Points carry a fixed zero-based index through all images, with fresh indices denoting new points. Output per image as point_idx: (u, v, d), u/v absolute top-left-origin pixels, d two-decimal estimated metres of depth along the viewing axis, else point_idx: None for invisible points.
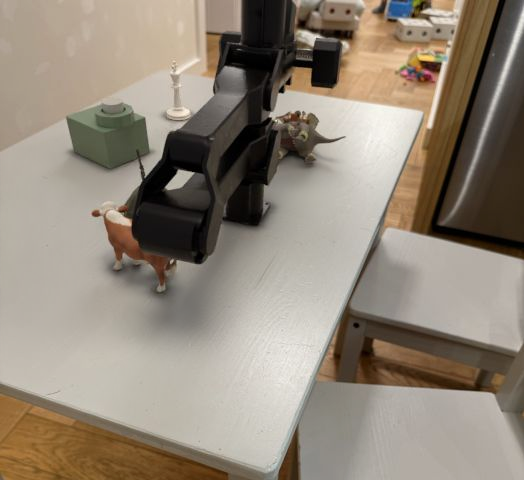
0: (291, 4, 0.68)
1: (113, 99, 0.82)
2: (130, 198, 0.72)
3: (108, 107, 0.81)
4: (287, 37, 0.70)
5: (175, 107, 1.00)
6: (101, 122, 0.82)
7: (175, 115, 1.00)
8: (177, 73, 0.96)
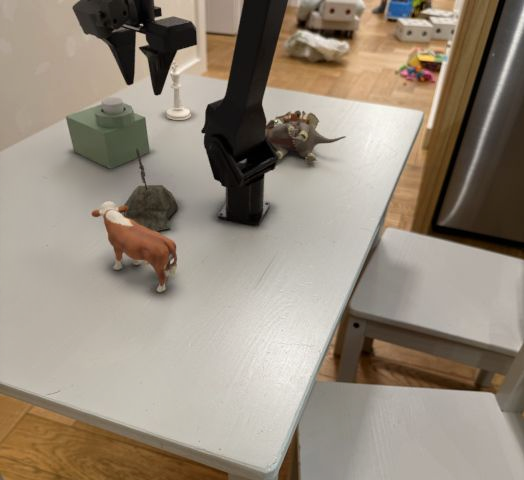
0: (75, 4, 0.64)
1: (113, 99, 0.82)
2: (130, 198, 0.72)
3: (108, 107, 0.81)
4: None
5: (175, 107, 1.00)
6: (101, 122, 0.82)
7: (175, 115, 1.00)
8: (177, 73, 0.96)
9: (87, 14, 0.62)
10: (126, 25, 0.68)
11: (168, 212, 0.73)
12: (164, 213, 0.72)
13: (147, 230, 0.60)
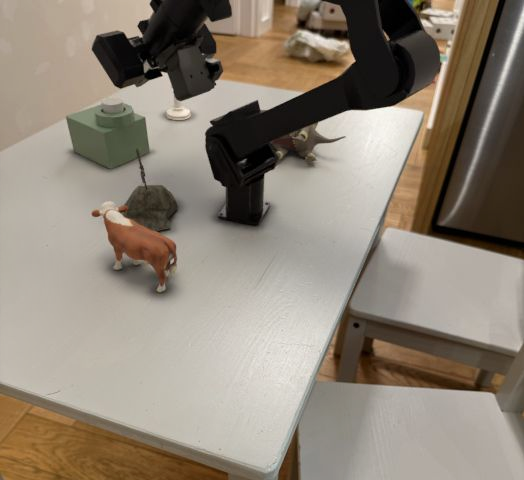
0: (188, 90, 0.67)
1: (113, 99, 0.82)
2: (130, 198, 0.72)
3: (108, 107, 0.81)
4: (177, 59, 0.65)
5: (175, 107, 1.00)
6: (101, 122, 0.82)
7: (175, 115, 1.00)
8: None
9: (208, 91, 0.69)
10: None
11: (168, 212, 0.73)
12: (164, 213, 0.72)
13: (147, 230, 0.60)
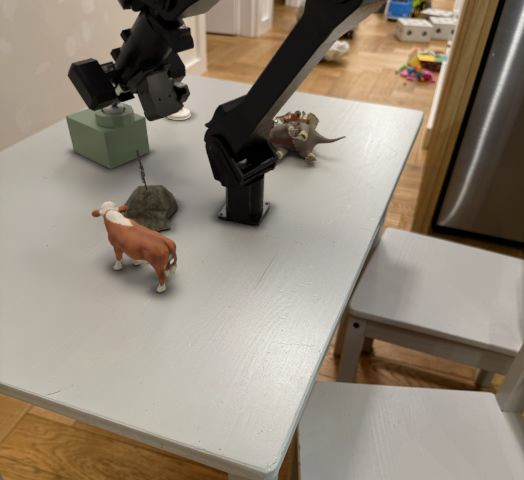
0: (157, 112, 0.73)
1: None
2: (130, 198, 0.72)
3: (109, 112, 0.81)
4: (146, 84, 0.72)
5: None
6: (101, 122, 0.82)
7: (175, 115, 1.00)
8: None
9: (176, 112, 0.76)
10: None
11: (168, 212, 0.73)
12: (164, 213, 0.72)
13: (147, 230, 0.60)
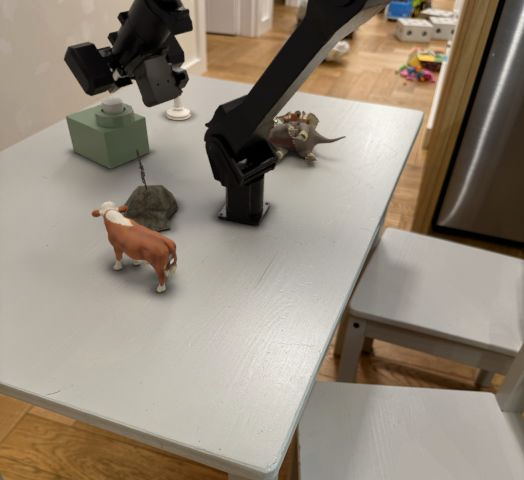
0: (155, 97, 0.72)
1: (113, 99, 0.82)
2: (130, 198, 0.72)
3: (108, 107, 0.81)
4: (144, 68, 0.70)
5: (175, 107, 1.00)
6: (101, 122, 0.82)
7: (175, 115, 1.00)
8: None
9: (174, 98, 0.74)
10: None
11: (168, 212, 0.73)
12: (164, 213, 0.72)
13: (147, 230, 0.60)
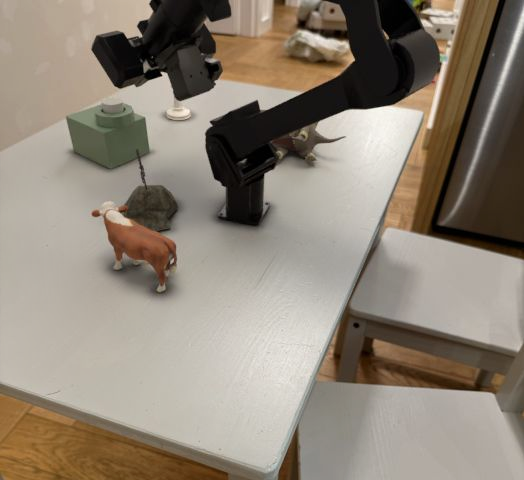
0: (188, 90, 0.67)
1: (113, 99, 0.82)
2: (130, 198, 0.72)
3: (108, 107, 0.81)
4: (176, 59, 0.66)
5: (175, 107, 1.00)
6: (101, 122, 0.82)
7: (175, 115, 1.00)
8: None
9: (207, 91, 0.70)
10: None
11: (168, 212, 0.73)
12: (164, 213, 0.72)
13: (147, 230, 0.60)
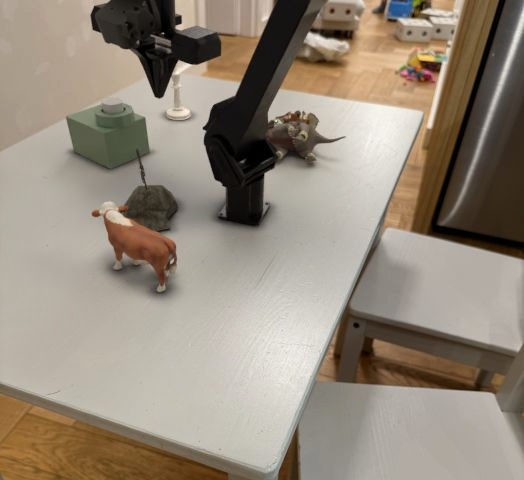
0: (97, 12, 0.61)
1: (113, 99, 0.82)
2: (130, 198, 0.72)
3: (108, 107, 0.81)
4: None
5: (175, 107, 1.00)
6: (101, 122, 0.82)
7: (175, 115, 1.00)
8: (177, 73, 0.96)
9: (113, 24, 0.60)
10: None
11: (168, 212, 0.73)
12: (164, 213, 0.72)
13: (147, 230, 0.60)
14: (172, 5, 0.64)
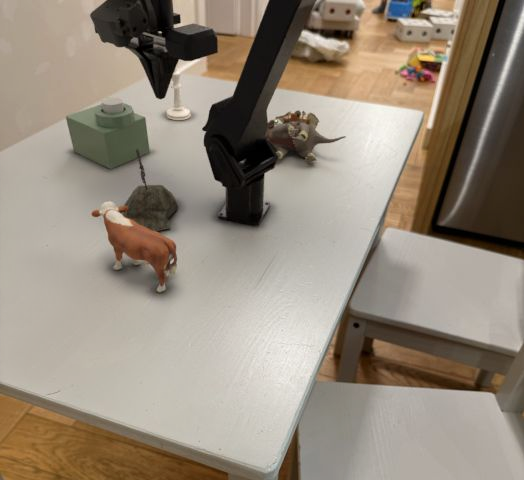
0: (92, 12, 0.62)
1: (113, 99, 0.82)
2: (130, 198, 0.72)
3: (108, 107, 0.81)
4: None
5: (175, 107, 1.00)
6: (101, 122, 0.82)
7: (175, 115, 1.00)
8: (177, 73, 0.96)
9: (106, 22, 0.60)
10: (144, 32, 0.66)
11: (168, 212, 0.73)
12: (164, 213, 0.72)
13: (147, 230, 0.60)
14: (168, 3, 0.64)
